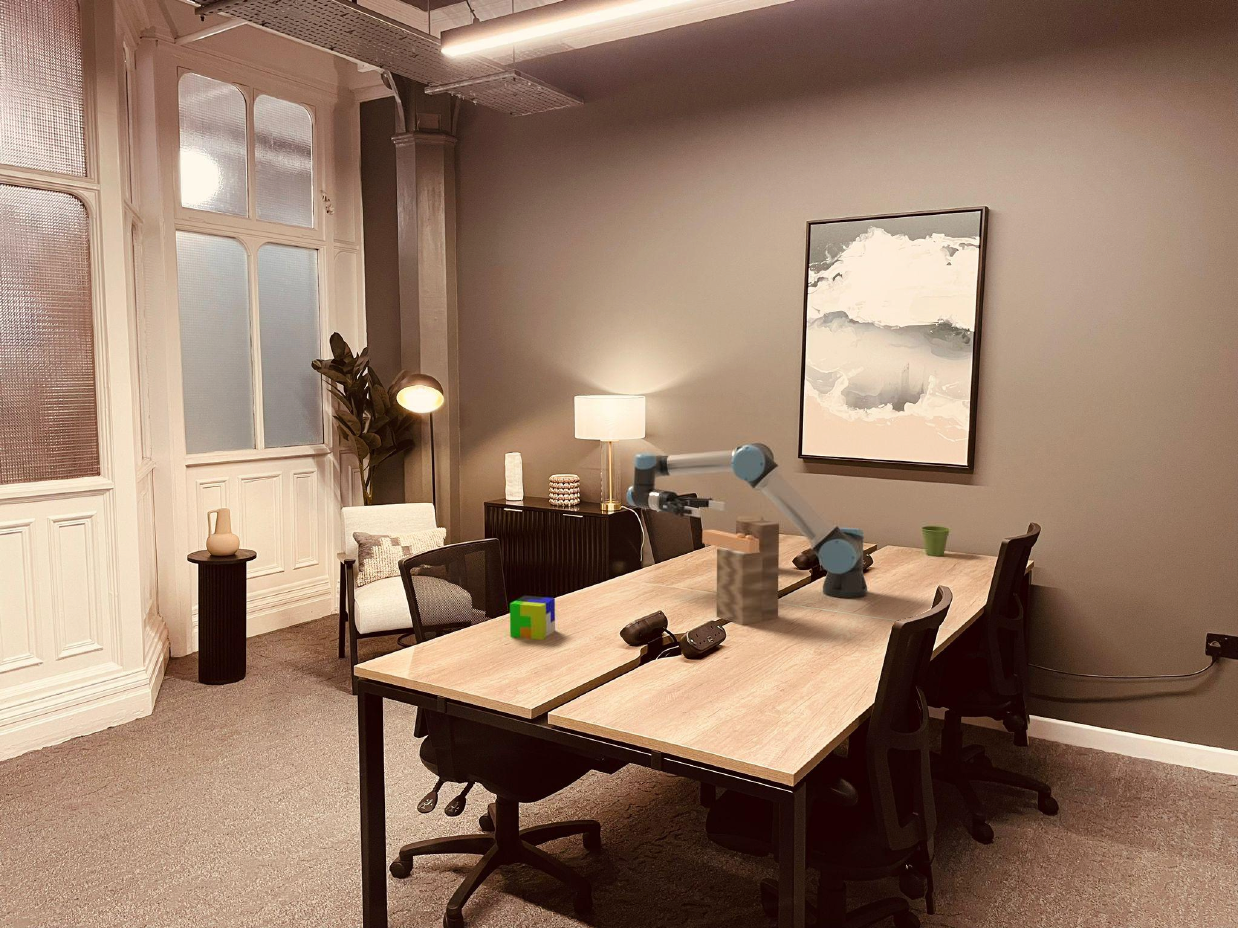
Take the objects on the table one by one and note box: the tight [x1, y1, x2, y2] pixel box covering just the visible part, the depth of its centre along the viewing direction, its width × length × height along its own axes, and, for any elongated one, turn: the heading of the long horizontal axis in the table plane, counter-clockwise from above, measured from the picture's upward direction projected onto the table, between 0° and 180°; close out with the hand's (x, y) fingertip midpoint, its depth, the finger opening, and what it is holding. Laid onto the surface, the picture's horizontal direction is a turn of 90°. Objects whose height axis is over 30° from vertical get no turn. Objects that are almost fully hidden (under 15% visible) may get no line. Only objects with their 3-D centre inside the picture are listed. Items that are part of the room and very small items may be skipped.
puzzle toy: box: [509, 595, 556, 641], centre depth 275 cm, size 10×10×10 cm
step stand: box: [716, 518, 780, 626], centre depth 291 cm, size 12×15×30 cm
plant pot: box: [920, 525, 951, 557], centre depth 387 cm, size 12×12×11 cm
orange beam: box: [701, 528, 759, 554], centre depth 291 cm, size 22×4×5 cm, turn 35°
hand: (712, 510), depth 313 cm, fingers open, 13 cm apart
